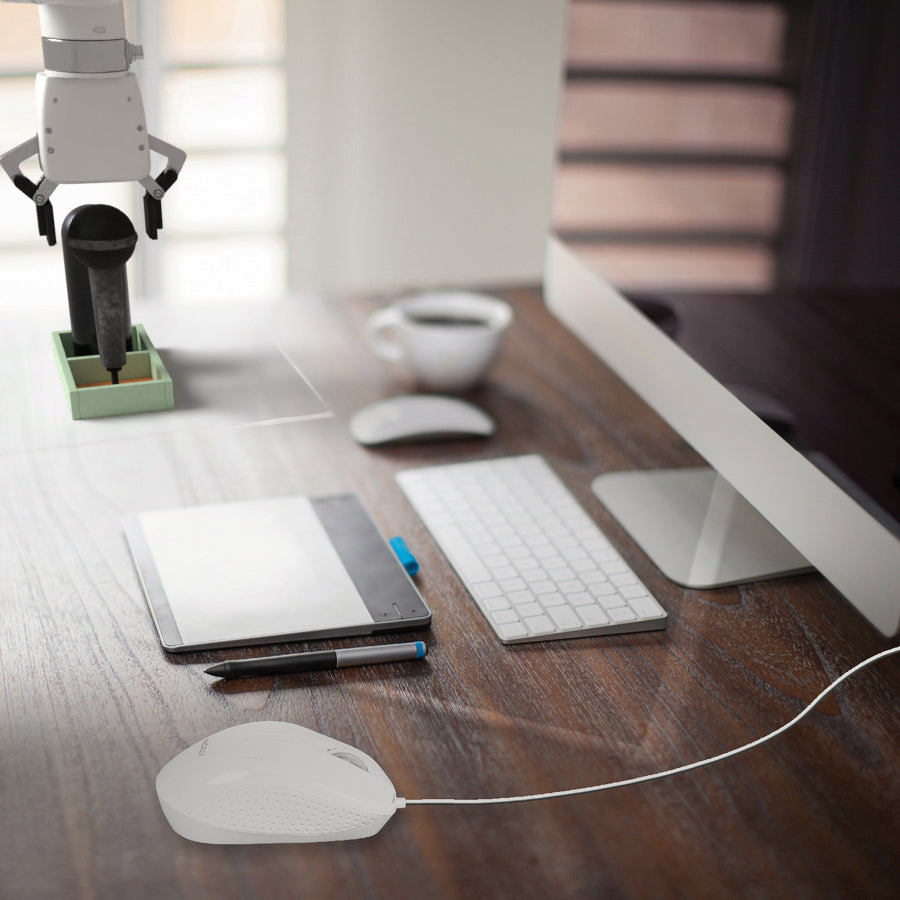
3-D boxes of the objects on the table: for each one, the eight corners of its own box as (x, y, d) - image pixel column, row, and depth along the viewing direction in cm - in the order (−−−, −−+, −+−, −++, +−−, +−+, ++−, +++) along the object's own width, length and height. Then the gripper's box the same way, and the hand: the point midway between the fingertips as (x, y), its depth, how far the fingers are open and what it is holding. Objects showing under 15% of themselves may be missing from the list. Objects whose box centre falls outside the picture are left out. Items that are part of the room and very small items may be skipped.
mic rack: (73, 424, 114) (69, 391, 113) (54, 360, 130) (50, 331, 129) (174, 412, 118) (172, 381, 116) (144, 351, 134) (141, 323, 133)
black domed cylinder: (78, 379, 124) (61, 213, 116) (72, 360, 129) (55, 199, 122) (138, 373, 126) (125, 209, 119) (130, 354, 132) (116, 196, 124)
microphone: (68, 401, 118) (47, 207, 110) (106, 379, 124) (89, 194, 116) (126, 411, 116) (109, 215, 108) (162, 388, 122) (149, 201, 114)
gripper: (172, 54, 112) (183, 226, 119) (-16, 54, 106) (7, 236, 113) (187, 62, 106) (197, 243, 113) (-12, 63, 100) (12, 255, 107)
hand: (102, 239), depth 113 cm, fingers open, 9 cm apart
